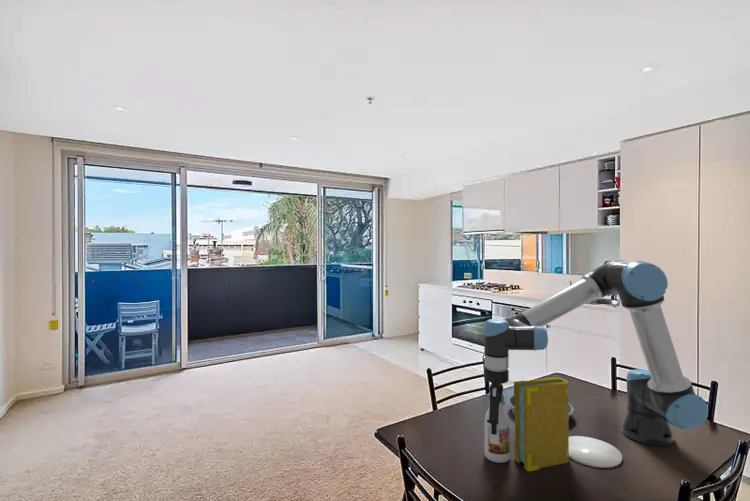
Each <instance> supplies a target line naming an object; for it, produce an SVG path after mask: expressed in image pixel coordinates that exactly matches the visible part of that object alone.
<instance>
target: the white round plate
mask: <svg viewBox="0 0 750 501" xmlns="http://www.w3.org/2000/svg"><path fill="white" fill-rule="evenodd" d="M569 460H572V461H574V462H577V463H579V464H581V465H586V466H589V467H592V468H600V469H601V468H602V469H610V468H616V467H619V466H620V465H622V463H623V454H622V452H621V451H620V450H619V449H618V448H617V447H615V446H614V445H612V444H611V443H609V442H605V441H603V440H600V439H597V438H593V437H589V436H583V435H572V436H571V435H570V436H569ZM621 462H622V463H621ZM619 464H620V465H619ZM615 466H616V467H615Z"/></svg>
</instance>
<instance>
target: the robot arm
mask: <svg viewBox="0 0 750 501" xmlns="http://www.w3.org/2000/svg"><path fill="white" fill-rule="evenodd" d="M668 283H669V282H668V278H667V276H666V274H665V272H664V271H663V269H661V268H660V267H659V266H658V265H656V264H653V263H651V262H646V261H642V260H641V261H639V260H637V261H634V260H633V261H632V260H613V261H608V262H607V263H604V264H602V265H600V266H599V267H596V268H594V269H593V270H590V271H589V272H587V273H585V274H583V275H582V276H581V279H580V280H579V281H577V282H575V283H573V284H572V285H570V286H567V287H566V288H564V289H562V290H560V291H559V292H557V293H554V294H553V295H551V296H550V297H548V298H545V299H544V300H543V301H541V302H539V303H537V304H536V305H533V306H532V307H531V306H530V308H528V309H526V310H525V311H523V312H521V313H519V314H516V315H515V316H506V317H504V318H503V319H501V318H500V319H498V318H496V319H495V318H491V319H487V320H486V321H485V322H484V328H483V329H484V330H483V341H484V342H483V343H484V347H483V348H484V349H483V350H484V352H483V353H484V354H483V356H482V360H484V361H483V362H484V369H483V376H484V378H483V379H484V380H485V381H486V382H488V383H490V386H489V395H490V402H489V406H490V411H489V420H487V423H490V443H491V444H497V445H499V421H498V417H499V403H500V402H501V395H503V393H504V385H503V384H506V383H508V382H509V378H510V376H509V372H510V371H509V368H510V365H509V364H510V363H509V362H510V358H509V356H510V352H509V351H541V350H545V349H547V347H548V344H549V337H548V336H549V335H548V332H547V330H546V328H544V327H545V326H546V325H548V324H550V323H552V322H554V321H555V320H557V319H560V318H561V317H563V316H564V315H567V314H569V313H570V312H573V311H574V310H575V309H578V308H579V307H581V306H583V305H585V304H587V303H588V302H591V301H593V300H594V299H596V300H600V299H602V298H604V297H607V296H610V295H618V297H619V300H620V304H621V306H622V307H623V308H624V309H626V310H628V311H629V314H630V317H631V320H632V324H633V326H634V330H635V332H636V336H637V339H638V341H639V345H640V348H641V352H642V355H643V357H644V360H645V363H646V364H645V365H646V366H647V369H641V368H640V369H638V368H637V369H631V370H628V371H627V373H626V379H625V380H626V411H625V414H624V417H623V419H622V422H621V425H620V426H621V432H622V434H623V435H624V436H626V437H627V438H629V439H631V440H633V441H636V442H638V443H642V444H646V445H648V446H656V447H657V446H659V447H666V446H670V445H672V444H673V443H674V434H673V431H672V429H671V426H673V427H677V428H678V429H681V430H684V431H685V430H686V431H689V430H690V431H691V430H695V429H698V428H699V427H700V426H702V425H703V424H704V422H705V421H706V419H707V418H708V414H709V407H708V403H707V402H706V400H705V399H704V398H703V397H702V396H700V395H698V394H696V393H695V389H694V386H693V384H692V381H691V379H689V377H686V376H685V375H683V371H682V367H681V365H680V362H679V359H678V356H677V352H676V348H675V346H674V343H673V340H672V337H671V333H670V331H669V328H668V325H667V322H666V319H665V315H664V312H663V310H662V309H663V308H662V304H663V303H664V301H665V296H664V295H665V293H667V292H666V290H667V289H668V287H669V286H668V285H669V284H668ZM503 396H504V395H503ZM505 405H506V404H505V401H504V404H503V406H505ZM670 425H671V426H670Z"/></svg>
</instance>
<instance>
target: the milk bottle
mask: <svg viewBox="0 0 750 501" xmlns="http://www.w3.org/2000/svg"><path fill="white" fill-rule="evenodd" d="M488 400H489V401H488V402H489V403H490V394H489V395H488ZM504 402H505V397H504V395H501V402H500V403H499V417H498V421H499V445H497V444H491V443H490V423H487V420H489V411H490V405H489V406H488V409H487V411H486V413H485V416H484V429H483V430H484V432H483V433H484V434H483V435H484V456H485V457H486V459H487V460H488V461H490V462H493V463H498V464H501V463H502V464H504V463H507V462H508V461H509V460H510V458H511V457H510V455H511V454H510V451H511V448H510V442H511V441H510V422H509V417H508V414H507V413H506V410H505V408H504V407H505V405H503V404H504Z"/></svg>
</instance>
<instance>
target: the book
mask: <svg viewBox="0 0 750 501" xmlns="http://www.w3.org/2000/svg"><path fill="white" fill-rule="evenodd" d="M513 395H514V397H515V415H514V433H515V434H514V436H515V440H514V442H515V443H514V446H513V447H514V461H515V462H516V463H518V464H521V463H523V464H524V465H523V468H524V469H525V470H526V471H527V472H533V471H537V470H540V469H541V468H542V469H543V468H546V467H552V466H557V465H561V464H566V463H567V464H568V463H569V461H570V458H569V437H570V436H569V434H570V433H569V428H570V426H569V424H570V423H569V420H568V403H569V381H568V380H567V379H565V378H562V377H546V378H539V379H529V380H517V381H513Z"/></svg>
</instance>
